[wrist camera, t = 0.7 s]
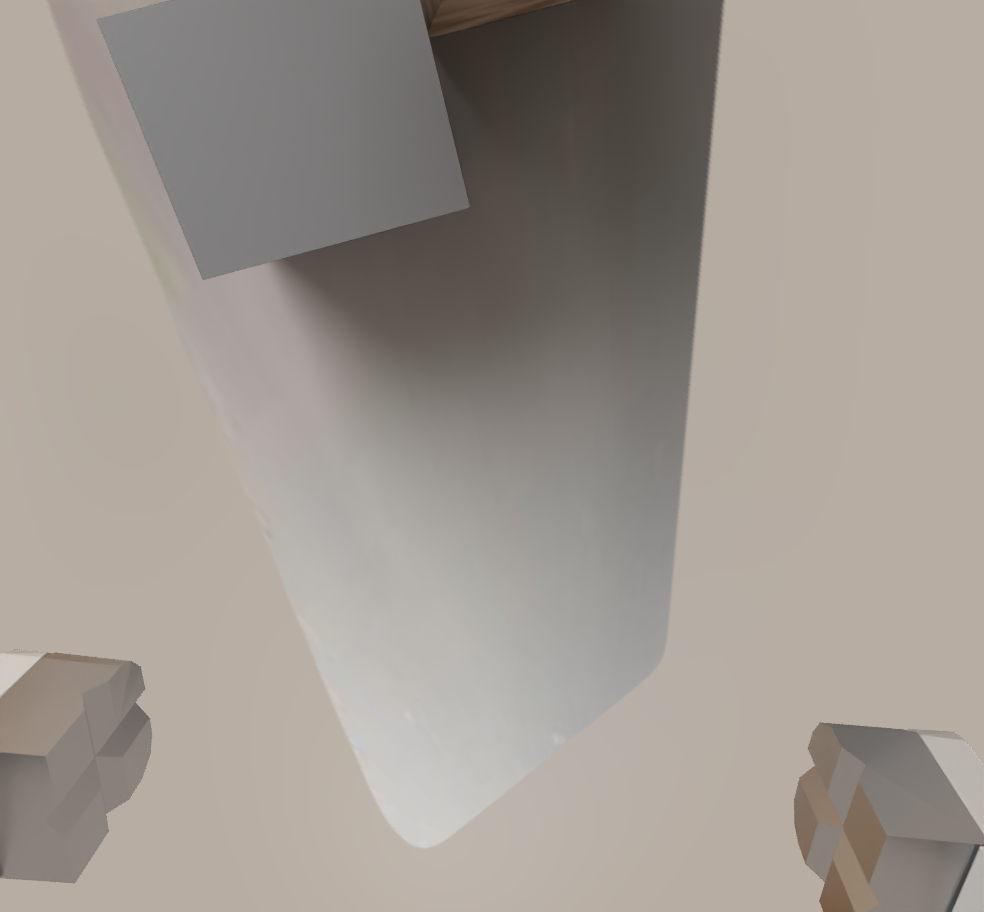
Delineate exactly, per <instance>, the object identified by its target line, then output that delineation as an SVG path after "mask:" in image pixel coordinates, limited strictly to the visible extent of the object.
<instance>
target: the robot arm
mask: <svg viewBox="0 0 984 912" xmlns="http://www.w3.org/2000/svg"><path fill="white" fill-rule="evenodd" d="M144 690H145V686H144V681H143V676H142V671H141V667H140V666H138V665H137V664H135V663H133V662H132V661H124V660H115V659H106V658H97V657H89V656H80V655H71V654H62V653H46V652H38V651H28V650H20V649H19V650H18V649H13V650H10V651H7V652H4V653H1V654H0V878H7V879H22V880H37V881H51V882H65V883H75V882H76V881H77V879H78V878H79V876H80V875H81V873H82V872H83V870H84V869H85V867H86V865H87V864H88V862H89V861H90V859H91V858H92V856H93V855H94V853H95V852H96V850H97V848H98V847H99V845H100V844H101V842H102V841H103V839H104V838H105V836H106V835H107V833H108V831H109V830H108V823H107V816H106V814H107V813H108V812H110V811H111V810H113V809H114V808H116V807H118V806H119V805H121V804H122V803H124V802H126V801H127V800H129V799H130V797H131V796H132V794H133V792H134V791H135V789H136V788H137V786H138V784H139V783H140V781H141V779H142V777H143V774H144V771H145V768H146V765H147V762H148V759H149V756H150V752H151V740H152V731H151V723H150V718H149V717H148V716H147V715H146V713H145V712H144V711H143V710H142V709H141V708H140V707H139V706H138V705H137V704H136V703H135V702H136V701H137V699H138V698H139V697H140V695H141V694H142V693H143V691H144ZM808 750H809V752H810V755H811V757H812V759H813V761H814V764H815V766H814V767H813V768H811V769H810V770H809V771H807V772H806V773H805V774H804V775H803V776H801V777H800V778H799V782H798V786H797V790H796V794H795V799H794V819H795V820H794V823H795V829H796V834H797V839H798V844H799V847H800V849H801V852H802V855H803V858H804V861H805V864H806V865H807V866H809V868H810V869H812V870H813V871H814V872H815V873H816V874H817V875H818V876H819V877H820V878H821V879H822V880H823V881H824V882H825V884H824V888H823V891H822V894H821V897H820V900H819V901H820V904H821V907H822V909H823V912H984V765H983V764H982V762H981V761H980V760H979V758H978V757H977V755H976V754H975V753H974V751H973V750H972V749H971V747H970V746H969V745H968V743H967V742H966V741H965V740H964V739H963V738H962V737H960V736H959V735H957V734H956V733H954V732H947V731H932V730H918V729H908V730H903V729H892V728H880V727H868V726H856V725H843V724H831V723H819V725H818V726H817V727H816V729H815V730H814V731H813V733H812V737H811V740H810V743H809V747H808Z"/></svg>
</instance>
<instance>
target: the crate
mask: <svg viewBox="0 0 984 912" xmlns="http://www.w3.org/2000/svg"><path fill="white" fill-rule="evenodd" d="M97 22H98V24H99V27H100V29H101V32H102V34H103V37H104V39H105V42H106V44H107V46H108V49H109V51H110V54H111V56H112V59H113V61H114V64H115V66H116V68H117V71H118V73H119V76H120V78H121V81H122V83H123V86H124V88H125V91H126V93H127V95H128V98H129V100H130V103H131V105H132V108H133V110H134V113H135V115H136V118H137V120H138V122H139V125H140V127H141V130H142V132H143V135H144V137H145V140H146V142H147V144H148V147H149V149H150V152H151V154H152V157H153V159H154V162H155V164H156V167H157V169H158V171H159V174H160V176H161V179H162V181H163V184H164V186H165V189H166V191H167V194H168V196H169V198H170V201H171V203H172V206H173V208H174V211H175V213H176V216H177V218H178V221H179V223H180V225H181V228H182V230H183V233H184V235H185V238H186V240H187V243H188V245H189V247H190V250H191V252H192V255H193V257H194V260H195V262H196V265H197V267H198V270H199V272H200V274H201V277H202V279H203V280H205V279H209V278H212V277H216V276H220V275H224V274H227V273H231V272H235V271H238V270H242V269H246V268H249V267H253V266H257V265H260V264H264V263H268V262H272V261H275V260H279V259H283V258H286V257H290V256H294V255H297V254H301V253H305V252H308V251H312V250H316V249H320V248H323V247H327V246H331V245H334V244H338V243H342V242H345V241H349V240H353V239H356V238H360V237H364V236H368V235H371V234H375V233H379V232H382V231H386V230H390V229H393V228H397V227H401V226H404V225H408V224H412V223H416V222H419V221H423V220H427V219H430V218H434V217H438V216H441V215H445V214H449V213H452V212H456V211H460V210H464V209H467V208H470V205H469V201H468V197H467V193H466V189H465V185H464V180H463V176H462V172H461V168H460V164H459V160H458V156H457V152H456V147H455V143H454V139H453V135H452V131H451V127H450V123H449V118H448V114H447V110H446V106H445V102H444V98H443V94H442V90H441V85H440V81H439V77H438V73H437V69H436V65H435V61H434V56H433V52H432V48H431V44H430V40H429V36H428V32H427V28H426V23H425V19H424V15H423V11H422V7H421V3H420V0H170V1H166V2H162V3H158V4H154V5H151V6H147V7H143V8H139V9H135V10H131V11H127V12H123V13H120V14H116V15H112V16H108V17H104V18H100V19H97Z"/></svg>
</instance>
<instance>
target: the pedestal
mask: <svg viewBox="0 0 984 912" xmlns="http://www.w3.org/2000/svg"><path fill="white" fill-rule="evenodd" d="M569 1H573V0H420V3H421V7H422V11H423V15H424V19H425V23H426V28H427V32H428V36H429V38H433V37H436V36H440V35H444V34H448V33H452V32H455V31H459V30H463V29H467V28H471V27H474V26H478V25H482V24H486V23H490V22H493V21H497V20H501V19H505V18H509V17H512V16H516V15H520V14H524V13H528V12H531V11H535V10H539V9H543V8H547V7H550V6H554V5H558V4H562V3H566V2H569Z"/></svg>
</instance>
